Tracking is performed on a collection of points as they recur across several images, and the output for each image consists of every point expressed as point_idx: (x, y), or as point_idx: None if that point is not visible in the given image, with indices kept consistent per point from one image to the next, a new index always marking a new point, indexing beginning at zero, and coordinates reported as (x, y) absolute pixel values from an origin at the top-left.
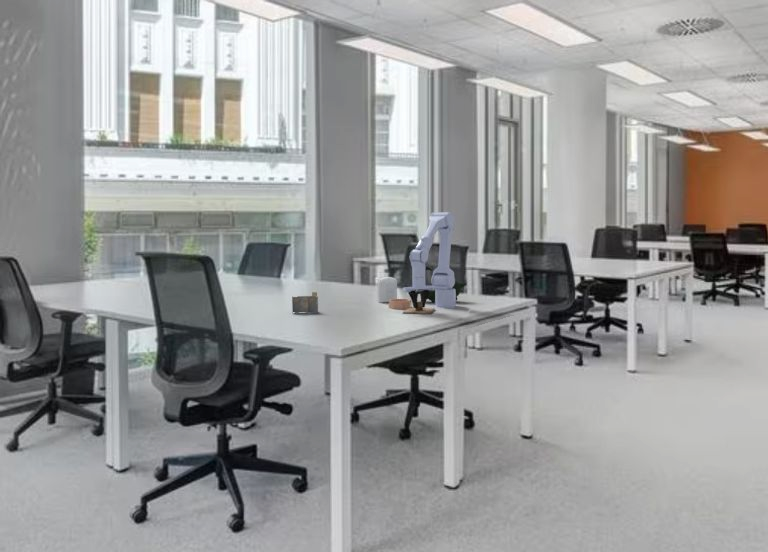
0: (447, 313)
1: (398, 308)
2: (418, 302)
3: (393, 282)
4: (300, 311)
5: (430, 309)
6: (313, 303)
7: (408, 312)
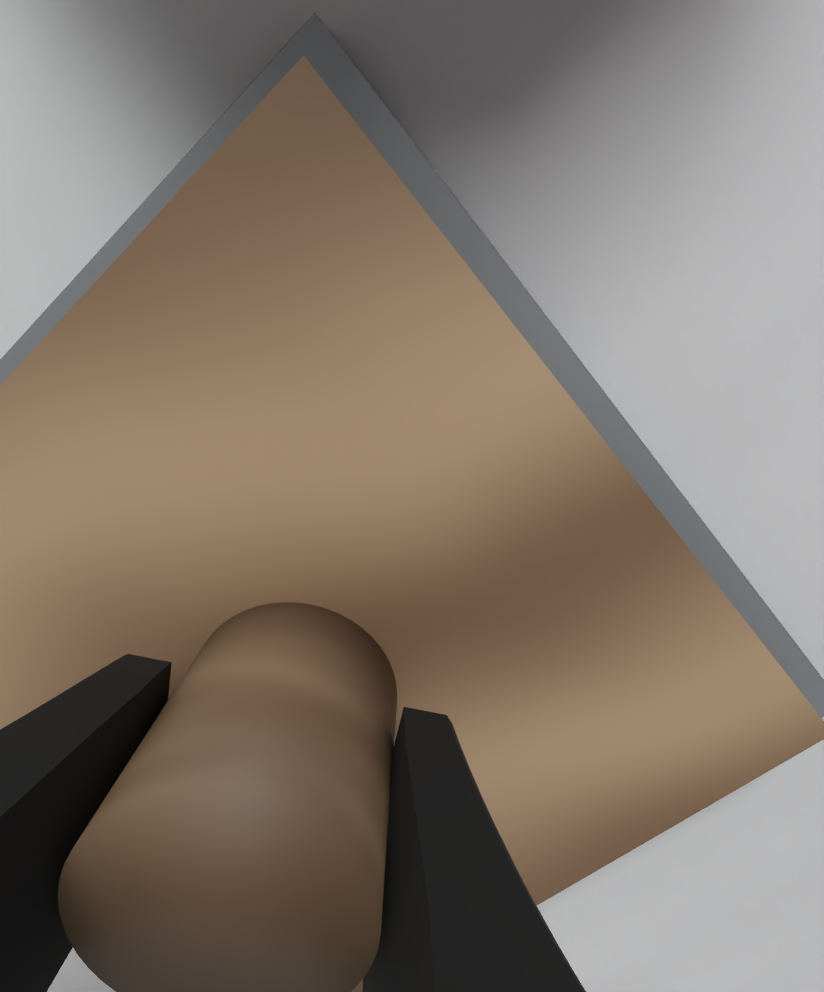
0: (736, 984)
1: None
2: (120, 989)
3: None
4: None
5: (597, 796)
6: None
7: None
